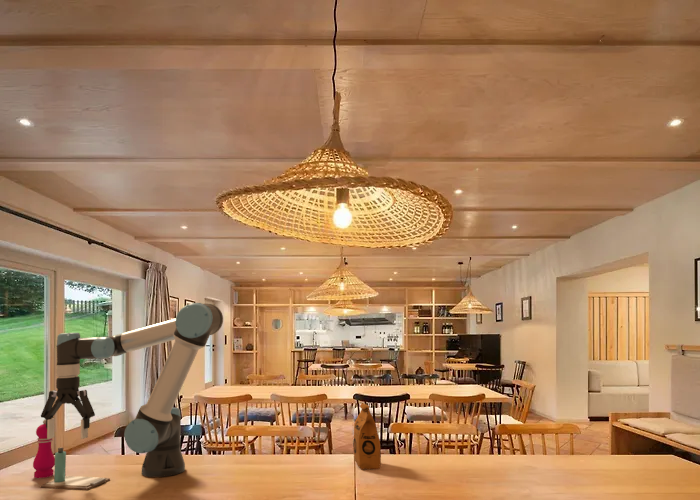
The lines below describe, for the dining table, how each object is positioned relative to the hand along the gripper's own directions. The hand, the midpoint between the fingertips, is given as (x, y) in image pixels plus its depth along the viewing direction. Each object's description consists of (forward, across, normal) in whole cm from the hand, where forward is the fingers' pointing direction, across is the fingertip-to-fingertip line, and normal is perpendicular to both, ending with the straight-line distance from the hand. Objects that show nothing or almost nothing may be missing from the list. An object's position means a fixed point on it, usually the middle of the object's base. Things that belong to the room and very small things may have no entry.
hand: (67, 438), depth 208 cm
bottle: (+14, 0, +3) cm, 14 cm away
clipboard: (+15, -5, +2) cm, 16 cm away
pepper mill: (+15, +14, -5) cm, 21 cm away
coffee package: (+17, -99, -37) cm, 107 cm away
